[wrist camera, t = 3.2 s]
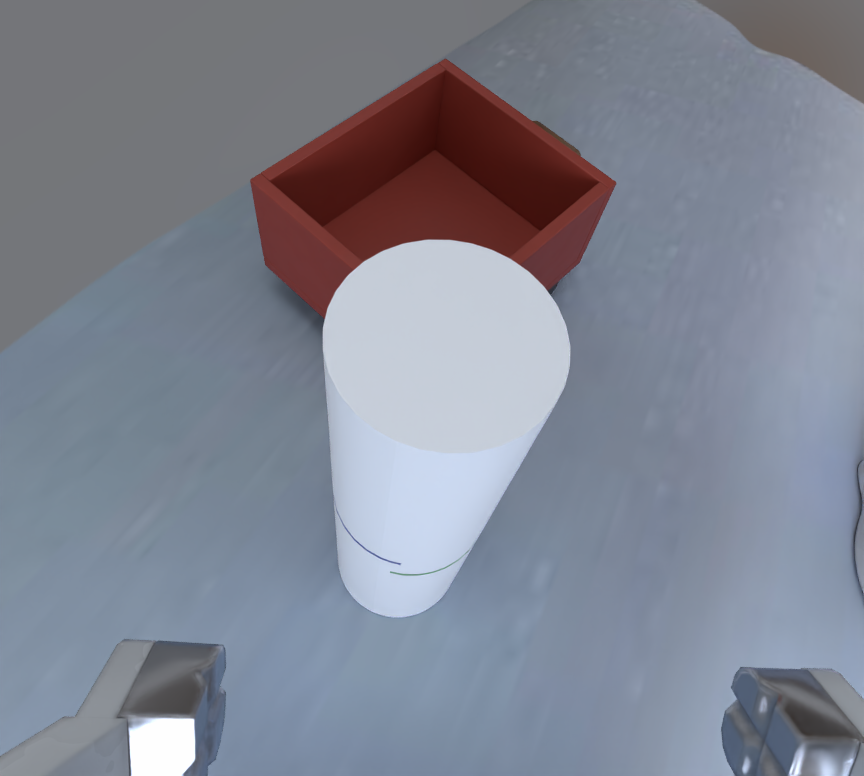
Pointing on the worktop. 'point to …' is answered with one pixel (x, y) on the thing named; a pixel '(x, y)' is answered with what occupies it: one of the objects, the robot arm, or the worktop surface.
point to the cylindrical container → (431, 409)
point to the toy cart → (428, 187)
